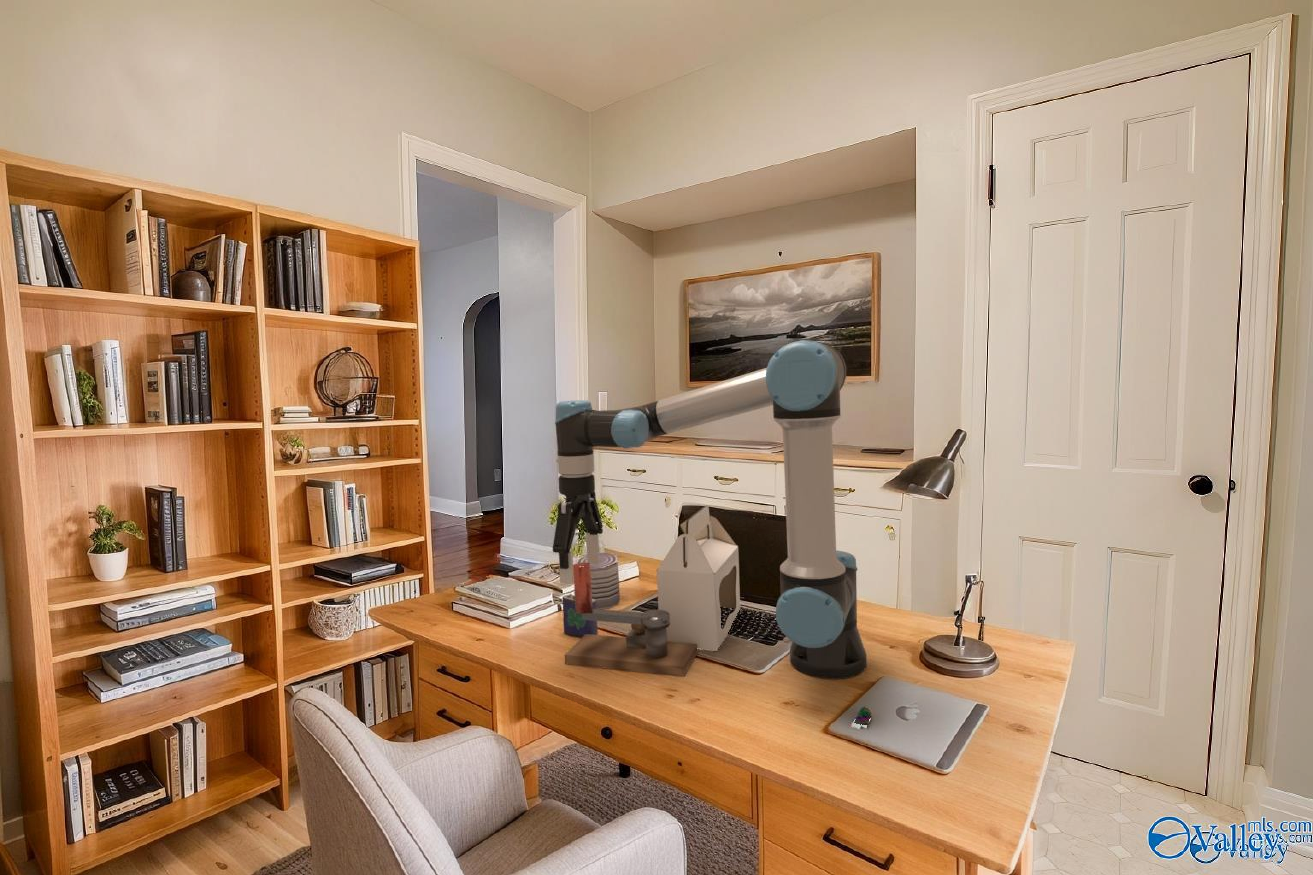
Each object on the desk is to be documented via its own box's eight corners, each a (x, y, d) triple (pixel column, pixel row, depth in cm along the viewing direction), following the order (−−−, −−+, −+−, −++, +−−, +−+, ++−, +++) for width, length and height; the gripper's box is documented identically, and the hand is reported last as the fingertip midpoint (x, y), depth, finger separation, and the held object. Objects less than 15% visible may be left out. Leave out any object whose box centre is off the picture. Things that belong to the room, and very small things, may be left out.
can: (629, 600, 175) (627, 556, 173) (599, 613, 166) (597, 567, 165) (598, 592, 182) (596, 550, 180) (568, 604, 173) (565, 560, 172)
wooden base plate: (697, 652, 140) (696, 616, 140) (684, 676, 130) (682, 637, 129) (586, 642, 148) (584, 607, 148) (565, 663, 138) (562, 626, 137)
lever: (673, 619, 138) (671, 565, 136) (665, 631, 132) (662, 574, 131) (582, 612, 144) (579, 560, 143) (570, 623, 138) (567, 568, 137)
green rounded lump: (854, 717, 113) (854, 704, 113) (871, 721, 112) (871, 708, 112) (848, 729, 110) (848, 716, 109) (865, 733, 108) (865, 720, 108)
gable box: (689, 610, 166) (685, 501, 163) (740, 615, 161) (737, 503, 158) (659, 646, 145) (653, 522, 142) (717, 652, 140) (712, 525, 137)
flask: (600, 636, 152) (597, 591, 150) (593, 641, 149) (590, 595, 148) (568, 630, 156) (565, 586, 155) (560, 634, 154) (557, 590, 152)
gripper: (584, 464, 150) (588, 554, 152) (531, 484, 127) (537, 591, 129) (614, 465, 148) (618, 556, 150) (566, 485, 124) (572, 593, 127)
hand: (580, 572), depth 140 cm, fingers open, 13 cm apart
